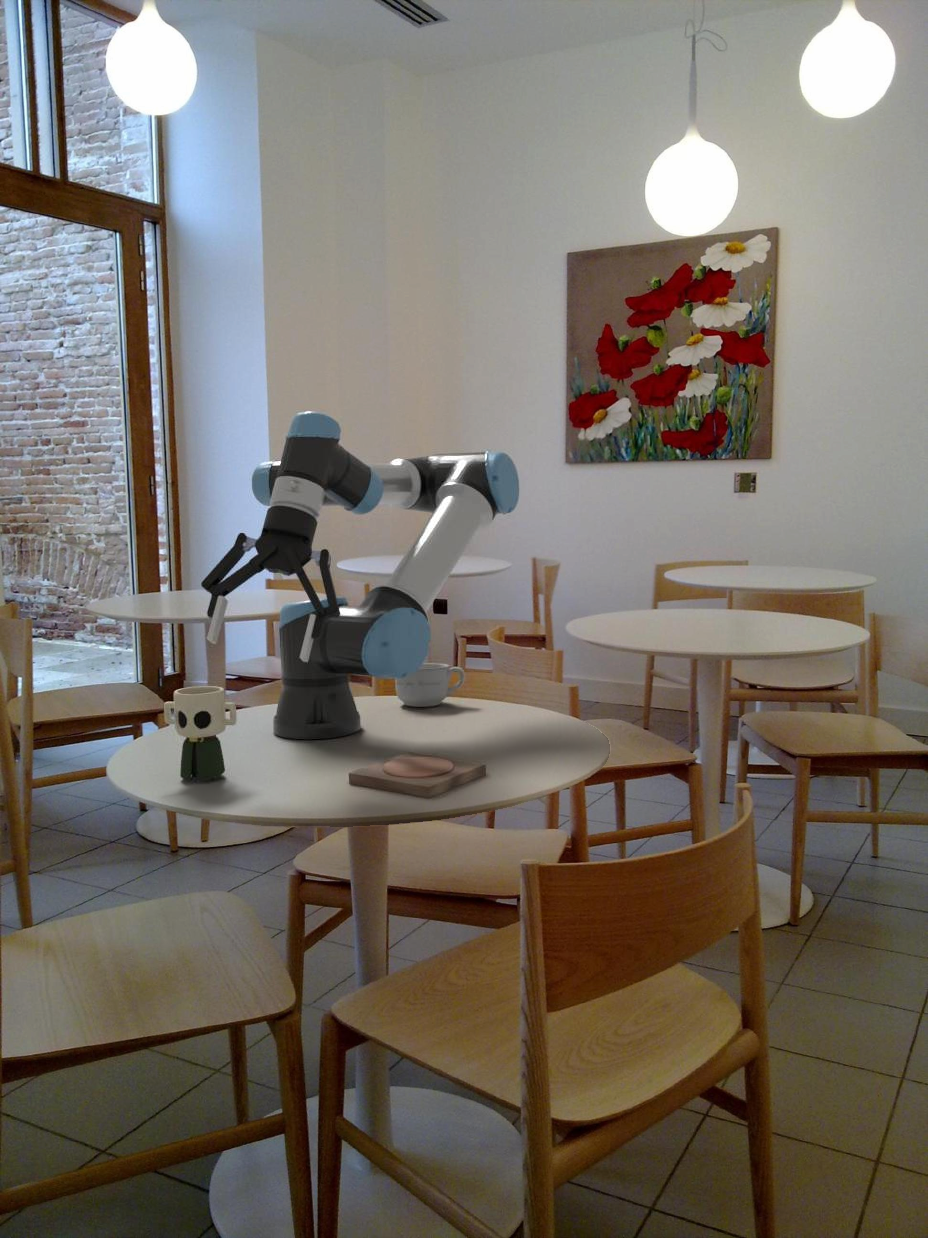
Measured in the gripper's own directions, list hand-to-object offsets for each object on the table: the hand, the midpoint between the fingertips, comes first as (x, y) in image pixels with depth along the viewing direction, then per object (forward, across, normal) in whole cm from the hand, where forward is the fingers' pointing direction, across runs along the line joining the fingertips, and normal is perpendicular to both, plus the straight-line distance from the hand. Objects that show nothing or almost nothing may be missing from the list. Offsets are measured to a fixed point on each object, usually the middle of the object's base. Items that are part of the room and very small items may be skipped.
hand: (257, 651), depth 143 cm
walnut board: (+13, +26, +5) cm, 29 cm away
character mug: (+19, -5, +7) cm, 21 cm away
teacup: (-5, +22, +55) cm, 59 cm away
